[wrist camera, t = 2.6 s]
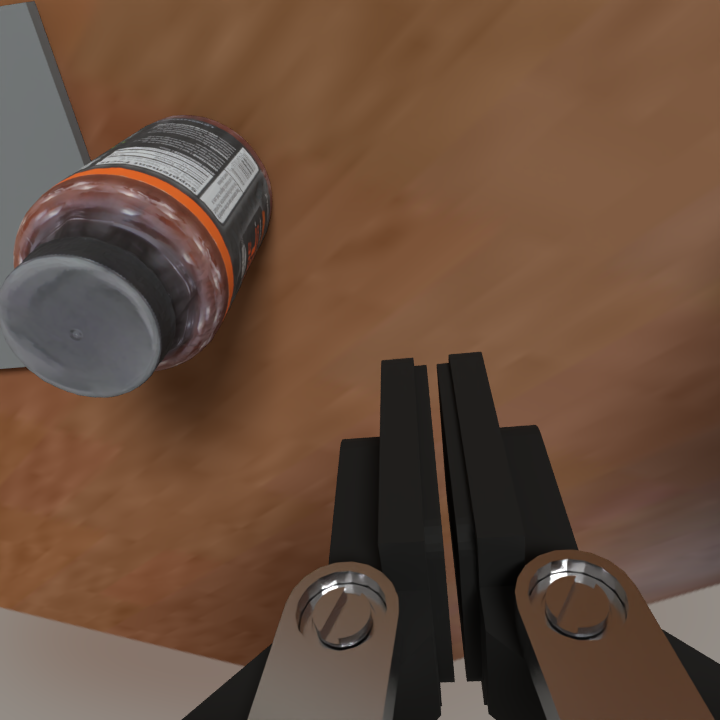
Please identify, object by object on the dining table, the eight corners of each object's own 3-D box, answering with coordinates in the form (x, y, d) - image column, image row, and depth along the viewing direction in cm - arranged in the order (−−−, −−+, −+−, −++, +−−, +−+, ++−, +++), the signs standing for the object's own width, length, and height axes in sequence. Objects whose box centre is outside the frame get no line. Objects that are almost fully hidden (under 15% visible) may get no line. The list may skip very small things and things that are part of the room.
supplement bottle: (240, 284, 27) (151, 465, 17) (106, 216, 26) (-70, 371, 16) (302, 162, 24) (236, 298, 14) (154, 77, 23) (-27, 166, 13)
